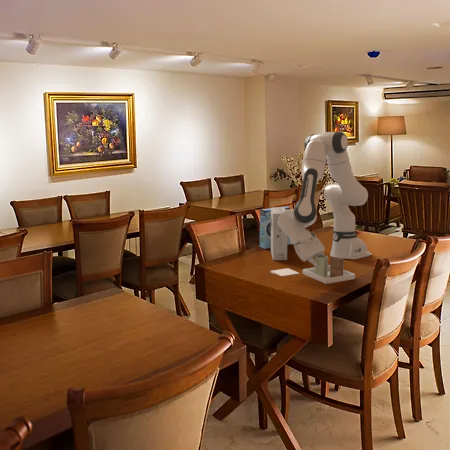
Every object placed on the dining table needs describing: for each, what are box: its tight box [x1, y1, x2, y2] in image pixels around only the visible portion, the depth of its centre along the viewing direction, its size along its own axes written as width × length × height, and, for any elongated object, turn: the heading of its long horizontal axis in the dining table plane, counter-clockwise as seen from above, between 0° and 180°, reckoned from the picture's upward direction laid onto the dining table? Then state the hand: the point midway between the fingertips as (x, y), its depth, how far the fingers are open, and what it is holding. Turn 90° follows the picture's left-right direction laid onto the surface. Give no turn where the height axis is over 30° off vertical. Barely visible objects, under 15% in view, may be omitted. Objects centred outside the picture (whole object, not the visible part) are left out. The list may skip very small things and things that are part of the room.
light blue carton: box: [259, 206, 291, 250], centre depth 296 cm, size 20×5×23 cm, turn 124°
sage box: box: [314, 254, 329, 277], centre depth 233 cm, size 4×4×9 cm
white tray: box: [302, 264, 356, 285], centre depth 232 cm, size 16×18×3 cm
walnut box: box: [329, 257, 345, 278], centre depth 229 cm, size 4×4×9 cm
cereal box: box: [270, 206, 288, 261], centre depth 274 cm, size 22×8×25 cm, turn 178°
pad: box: [269, 268, 300, 277], centre depth 239 cm, size 10×10×1 cm
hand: (321, 263), depth 233 cm, fingers open, 8 cm apart
